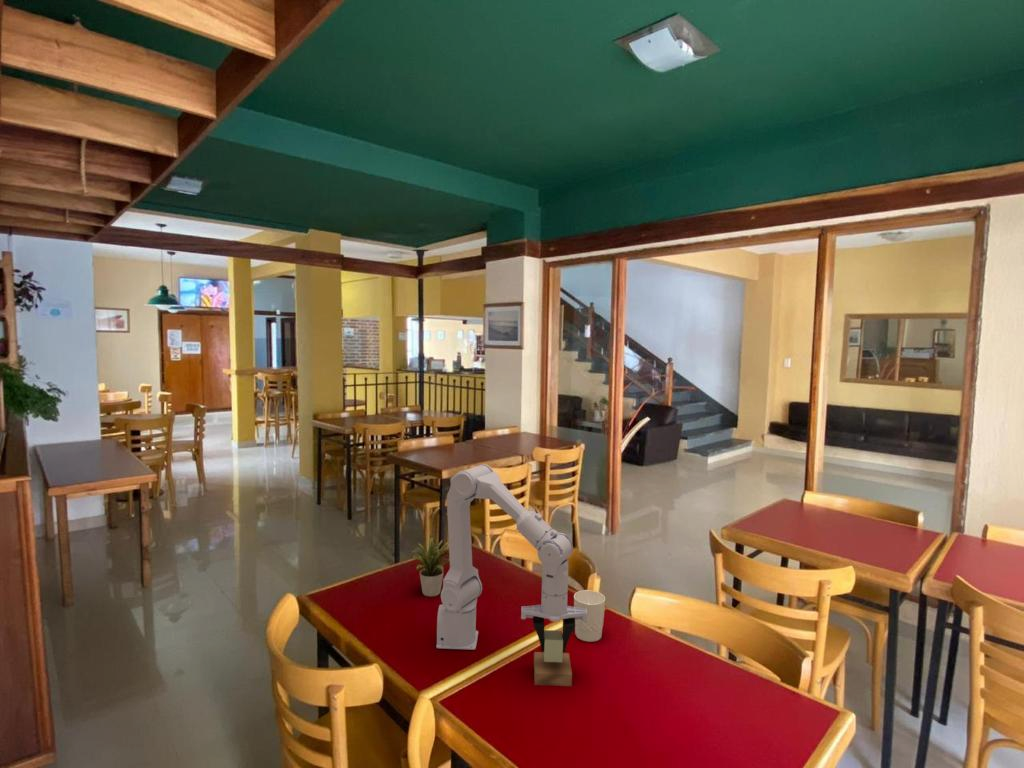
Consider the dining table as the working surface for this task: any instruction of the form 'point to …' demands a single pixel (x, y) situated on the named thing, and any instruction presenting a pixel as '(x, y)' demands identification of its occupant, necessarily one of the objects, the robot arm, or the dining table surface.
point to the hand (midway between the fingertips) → (552, 649)
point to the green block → (553, 646)
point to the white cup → (590, 615)
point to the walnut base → (552, 671)
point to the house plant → (431, 568)
